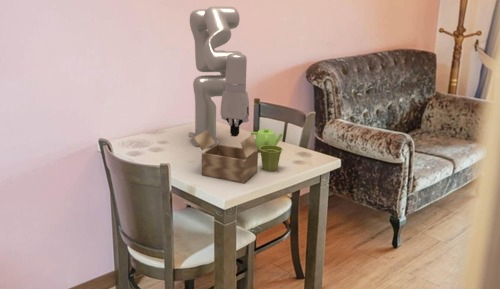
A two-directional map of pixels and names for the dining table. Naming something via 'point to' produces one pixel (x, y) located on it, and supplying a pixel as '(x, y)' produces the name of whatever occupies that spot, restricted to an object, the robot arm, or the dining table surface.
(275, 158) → the plant pot
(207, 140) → the flap
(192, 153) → the dining table surface
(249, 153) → the flap
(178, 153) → the dining table surface
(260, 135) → the teapot
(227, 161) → the carton
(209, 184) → the dining table surface
